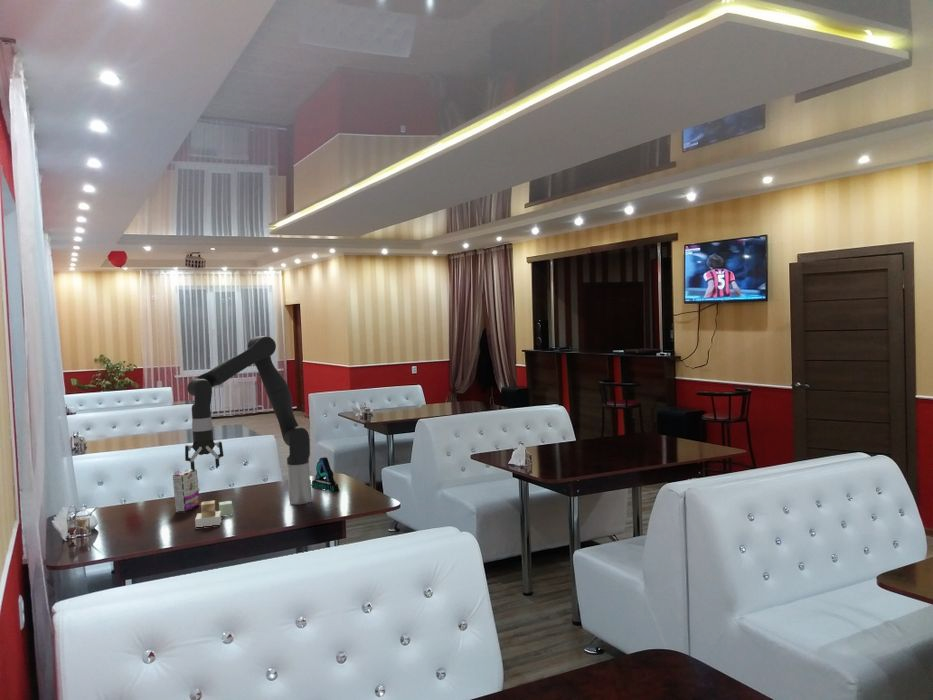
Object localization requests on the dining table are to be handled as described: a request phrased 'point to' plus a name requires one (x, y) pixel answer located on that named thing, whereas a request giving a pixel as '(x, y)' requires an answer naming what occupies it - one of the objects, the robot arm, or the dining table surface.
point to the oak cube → (208, 508)
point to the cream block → (208, 520)
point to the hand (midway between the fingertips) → (205, 469)
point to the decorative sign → (324, 476)
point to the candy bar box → (186, 490)
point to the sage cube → (225, 508)
